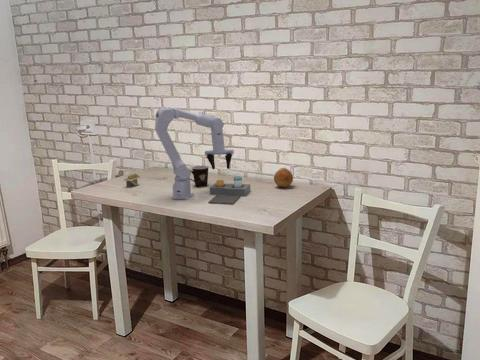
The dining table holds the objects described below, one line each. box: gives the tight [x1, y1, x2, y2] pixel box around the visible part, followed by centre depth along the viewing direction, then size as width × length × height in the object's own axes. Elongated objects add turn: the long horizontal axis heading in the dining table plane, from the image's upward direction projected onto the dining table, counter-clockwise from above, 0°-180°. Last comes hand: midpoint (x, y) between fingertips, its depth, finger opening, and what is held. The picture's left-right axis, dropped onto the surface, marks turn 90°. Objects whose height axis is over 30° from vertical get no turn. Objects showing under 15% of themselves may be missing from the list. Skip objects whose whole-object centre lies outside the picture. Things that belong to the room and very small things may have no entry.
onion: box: [273, 167, 294, 189], centre depth 233 cm, size 10×10×10 cm
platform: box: [123, 173, 141, 188], centre depth 246 cm, size 12×18×7 cm, turn 148°
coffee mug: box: [190, 165, 209, 188], centre depth 242 cm, size 12×9×10 cm
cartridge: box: [233, 176, 243, 188], centre depth 225 cm, size 4×4×8 cm
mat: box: [207, 195, 241, 206], centre depth 215 cm, size 12×12×1 cm
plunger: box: [215, 179, 225, 187], centre depth 227 cm, size 4×4×4 cm
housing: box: [209, 182, 251, 197], centre depth 227 cm, size 10×18×4 cm, turn 75°
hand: (221, 168), depth 228 cm, fingers open, 7 cm apart
